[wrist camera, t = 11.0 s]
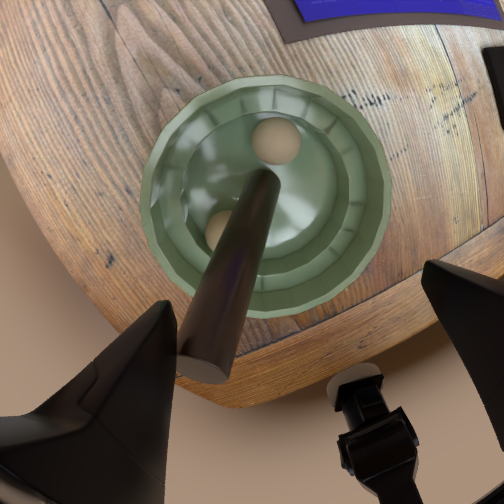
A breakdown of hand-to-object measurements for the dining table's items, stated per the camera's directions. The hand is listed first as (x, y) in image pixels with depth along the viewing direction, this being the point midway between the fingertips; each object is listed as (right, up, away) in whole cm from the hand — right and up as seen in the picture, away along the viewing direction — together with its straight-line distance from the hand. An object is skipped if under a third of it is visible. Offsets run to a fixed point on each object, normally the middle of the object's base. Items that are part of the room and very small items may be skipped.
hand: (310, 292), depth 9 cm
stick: (-1, +6, +10) cm, 11 cm away
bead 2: (0, +8, +7) cm, 11 cm away
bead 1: (-3, +3, +10) cm, 10 cm away
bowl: (-1, +6, +11) cm, 12 cm away
